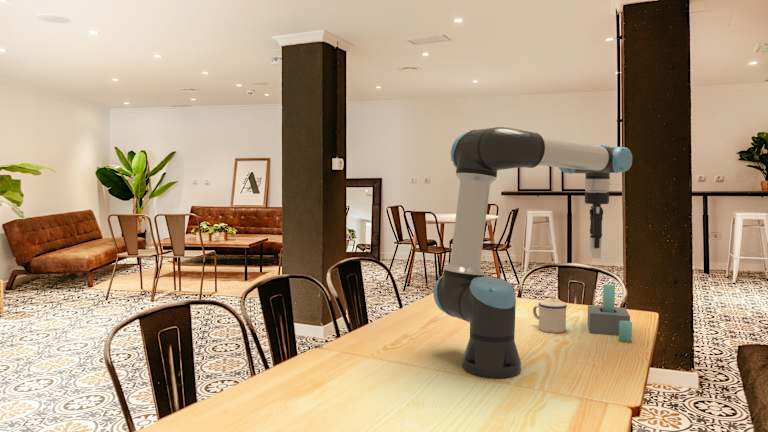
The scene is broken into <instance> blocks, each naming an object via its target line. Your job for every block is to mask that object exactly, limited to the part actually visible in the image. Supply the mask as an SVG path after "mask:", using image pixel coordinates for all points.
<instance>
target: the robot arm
mask: <svg viewBox="0 0 768 432" xmlns="http://www.w3.org/2000/svg"><path fill="white" fill-rule="evenodd" d="M450 160H451V162H452V163H453V167H455V168H456V171H455V176H456V177H457V178H458V179H459V187H458V197H457V204H456V212H455V221H454V227H453V235H452V236H453V237H452V245H451V253H450V259H449V260H450V261H449V264H447V265H446V266H445V267H443V275H441V276H440V277H439V278H438V279H437V280H436V281H435V285H434V286H433V299H434V302H435V304H436V306H437V307H438V309H439V310H440V311H442V312H443V313H445V314H446V315H448V316H450V317H453V318H457V319H459V320H463V321H465V322H467V323H469V339H468V342H467V344H466V347H465V351H464V354H463V357H462V368H463V370H465V371H466V372H468V373H469V374H471V375H475V376H480V377H482V378H483V377H484V378H490V379H491V378H492V379H501V378H512V377H513V376H517V375H518V374H520V373H521V371H522V361H521V358H520V354H519V351H518V348H517V345H516V342H515V335H516V334H515V331H516V306H517V304H516V302H517V298H516V290H515V286H514V285H513V284H512V283H510V282H509V281H508V280H505V279H501V278H498V277H497V278H496V277H492V276H486V275H485V272H484V271H483V269H481V260H482V253H483V246H484V238H485V237H484V236H485V229H486V220H487V214H488V206H489V205H488V204H489V197H490V196H489V195H490V189H491V184H492V183H493V182H494V181H496V180H497V177H498V171H501V170H508V169H509V170H510V169H519V168H526V169H527V168H528V169H532V168H533V169H534V168H536V167H538V166H543V167H544V166H545V167H551V168H552V167H553V168H558V169H559V170H560V171H561V172H563V173H566V174H569V175H570V174H585V180H584V190H585V191H586V192H585V193H584V203H585V204H587V205H591V207H590V209H589V220H590V223H589V224H590V226H589V227H590V228H589V247H588V248H589V251H588V252H589V254H591V259H599V260H601V259H602V257H601V255H602V237H603V216H604V209H603V207H602V205H608V204H609V203H610V193H609V191H610V186H611V185H612V184H613V183H612V182H611V181H610V178H611V176H610V175H611V174H614V173H615V174H618V173H625V172H627V171H629V170H630V168H631V167H632V164H633V154H632V151H631V150H630V149H629V148H628V147H626V146H625V147H624V146H615V147H613V146H612V147H611V146H610V145H608V144H589V143H583V142H574V141H567V140H561V139H556V138H555V139H554V138H547V137H543V136H542V134H540V133H538V132H535V131H534V132H533V131H528V130H522V129H517V128H511V127H506V126H505V127H504V126H495V127H490V128H481V129H473V130H469V131H466V132H462V133H461V134H460V135H459V136H457V137H456V138H455V139H454V142H453V143H452V145H451V149H450ZM610 173H611V174H610Z"/></svg>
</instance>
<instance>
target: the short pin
mask: <svg viewBox="0 0 768 432" xmlns="http://www.w3.org/2000/svg"><path fill="white" fill-rule="evenodd" d="M632 328H633V322H632V321H631V320H630V321H624V320H622V321H619V335H618V341H619V342H622V343H626V342H627V344H628V342H629V343H632V335H633V333H632V332H633V331H632V330H633V329H632Z"/></svg>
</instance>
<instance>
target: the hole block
mask: <svg viewBox="0 0 768 432" xmlns="http://www.w3.org/2000/svg"><path fill="white" fill-rule="evenodd" d="M622 320H624V321H630V322H631V315H630V314H629V312H628V310H627V309H626V307H619V306H618V307H617V306H614V313H612V312H603V305H587V320H586V321H587V328H588V332H589V334H601V335H609V336H610V335H611V336H613V335H614V336H619V321H622Z"/></svg>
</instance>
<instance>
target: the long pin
mask: <svg viewBox="0 0 768 432" xmlns="http://www.w3.org/2000/svg"><path fill="white" fill-rule="evenodd" d="M602 289H603V292H602V306H603V312H612V313H614V307H615V300H616V299H615V298H616V292H615V291H616V285H614V284H603V288H602Z"/></svg>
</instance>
